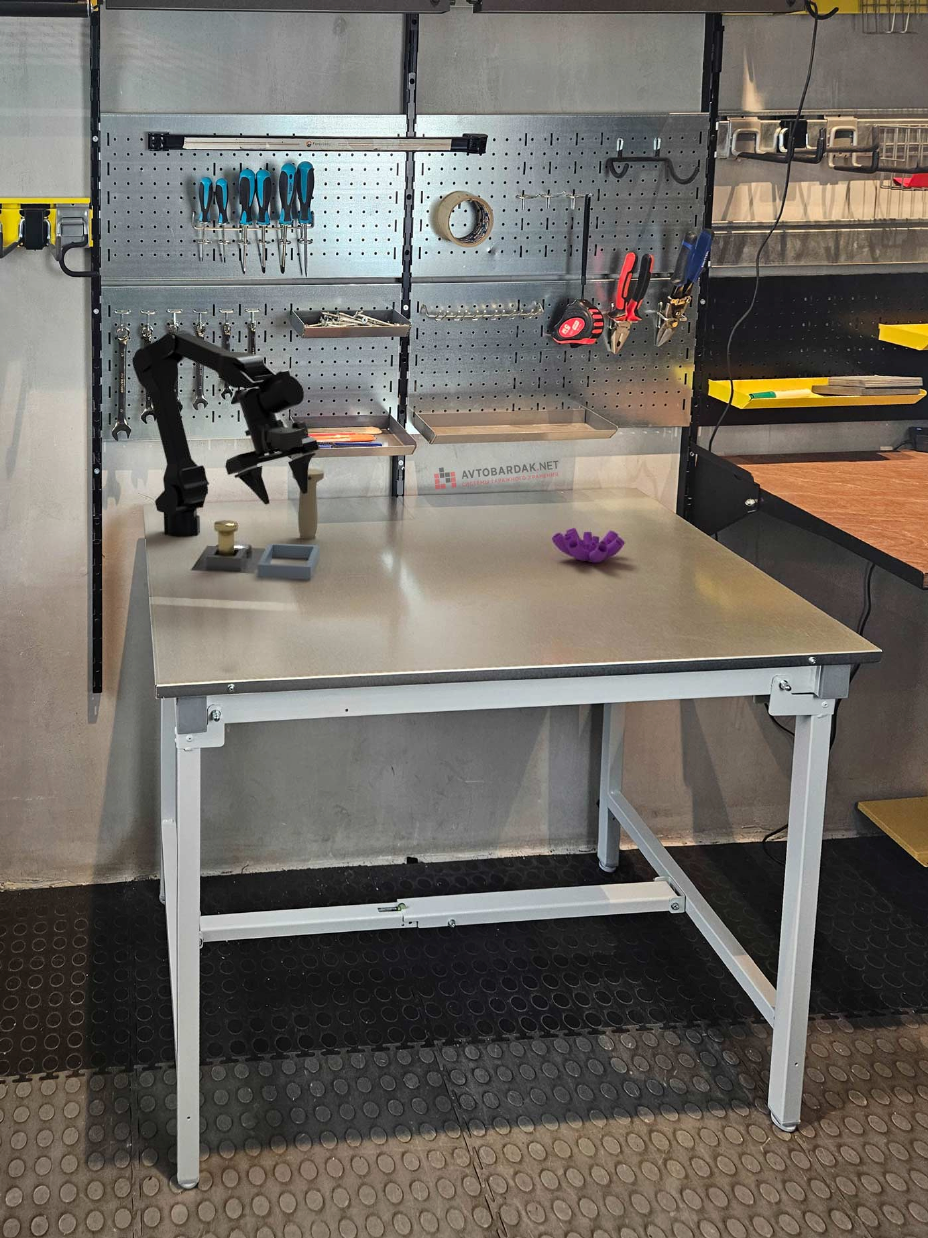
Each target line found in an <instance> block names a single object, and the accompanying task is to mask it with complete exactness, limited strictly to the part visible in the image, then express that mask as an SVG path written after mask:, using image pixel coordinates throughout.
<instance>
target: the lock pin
mask: <svg viewBox="0 0 928 1238" xmlns="http://www.w3.org/2000/svg"><path fill="white" fill-rule="evenodd" d="M238 523H239V522H238V521H235V520H229V519H228V520H227V519H226V520H225V519H224V520H223V519H222V520H217V521H215V522H214V523H213V525H214V531H215V532H217V536H218V537H217V538H218V539H217V540H218V541H217V543H218V544H217V545H218V551H219V556H234V541H235V532H238V530H239V528H238V527H239V526H238Z"/></svg>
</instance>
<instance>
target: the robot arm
mask: <svg viewBox="0 0 928 1238" xmlns="http://www.w3.org/2000/svg"><path fill="white" fill-rule="evenodd" d="M184 359H188V360H190V361H192V362H195V363H197V364H199V365H201V366H204V367H206V368H207V369H210V370H212V371H214V372H215V373H217V375H218V377H219V378H220V380H222V381H223V382H224V383H226V384H227V385H229V387H232V388H234V389H237V390H234V395H233V397H232V398H231V401H230V404H232V405H237V404H239V405H240V408H241V411H242V414H243V417H244V420H245V423H246V426H247V430H244V433H245V436H246V437H250V439H251V442H252V445H253V447H254V450H253V451H252V450H251V451H248V452H244V453H240V454H237V455H235V456H232V457H229V458H227V459H226V461H225V469H226V473H227V476H229V475H233V474H234V478H236V479H237V478H239V479H240V480H241V481H242V482H243V483H244V484H245V486H247V487H249V489H251V491H252V492H253V493H254V494H255V495H256V496H257V498H259V500H260V501H261V502H262V503H263V504H264V505H265V506H266V505H270V499H269V494H268V491H267V488H266V485H265V482H264V479H263V476H262V475H263V465H260V466H258V465H259V464H263V463H267V462H271V461H275V460H279V459H283V458H289V459H290V461H288V462H287V463H288V466H289V468H290V470H291V472H292V473H293V475H294V477H295V479H296V480H295V479H294V480H295V482H296V484H297V486H298V487H299V491H300V490H301V492H302V493H303V494H306V493H307V490H308V469H309V467H310V463H311V460H312V458H313V457H314V456H316V452H317V451H319V450H321V447H320V445H319V442H318V440H317V439H316V438H315V437H313V436H311V437H310V436H309V430H308V426H307V425H306V422H305V421H303V420H300V421H295V422H292V425H291V426H287V427H286V426H285V424H284V422H283V421H282V419H278V418H277V416H276V414H280V413H282V412H284V411H287V410H289V409H291V408H294V407H296V406H298V405H300V404H301V403H302V402H303V401H304V397H305V391H304V388H303V386H302V384H301V383H300V382H299V381H298V379H297V378H296V377H294V376H292V375H291V373H290V370H289V369H286V370H285V369H284V370H280V371H278V372H274V371H273V370H272V369H271V368H270V367H269V366H268V365H267V364H266V363H265V362H264V359H263V357H261V356H260V355H258V354H254V353H250V352H243V351H242V352H241V351H231V350H227V349H226V348H223V347H221V346H219V345H216V344H214V343H213V342H209V341H207V340H205V339H203V338H201V337H198V336H196V335H194V334H192V333H191V332H189V331H187V330H177V331H176V330H175V331H168V332H167V333H166V334H164V335H163V336H161V337H160V338H158V339H157V340H155V341H153V342H151V343H150V344H148V345H146V346H144V347H142V348H139V349H137V350H136V351H135V352H134V356H133V357H132V366H133V369H134V372H135V375H136V378H137V380H138V383H139V384H140V385H141V386H142V387H143V388H144V389H145V391H147V393H148V394H149V397H150V400H151V404H152V408H153V412H154V416H155V421H156V424H157V428H158V433H159V437H160V441H161V445H162V449H163V452H164V453H163V454H164V457H165V460H166V466H165V467H166V468H165V471H164V473H163V477H162V480H163V481H162V482H163V486H164V487H163V488H164V490H163V491H162V492H161V493H160V494H159V496H158V497H157V498H156V499H155V500H154V503H155V507H156V511H157V512H159V513H163V535H166V536H170V537H173V538H174V537H175V538H184V537H185V538H186V537H197V536H199V535H200V533H201V516H200V515H199V514H198V509H202V508H204V505H205V501H206V497H207V495H208V494H209V485H210V482H209V480H208V478H207V475H206V474H207V473H206V469H205V465H198V464H197V463H196V462H195V461H194V460H193V459H192V458H193V457H192V456H191V452H190V447H189V443H188V439H187V436H186V431H185V427H184V424H183V419H182V415H181V410H180V407H179V403H178V398H177V395H176V389H175V387H176V384H177V381H178V376H179V367H178V364H180V363H181V362H182V361H184ZM240 388H243V389H240Z"/></svg>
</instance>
